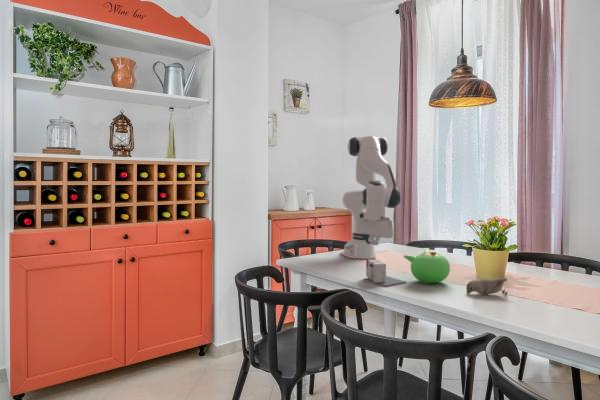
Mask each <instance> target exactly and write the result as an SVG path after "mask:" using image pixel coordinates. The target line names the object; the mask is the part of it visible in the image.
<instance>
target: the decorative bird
mask: <svg viewBox="0 0 600 400" xmlns="http://www.w3.org/2000/svg"><path fill="white" fill-rule="evenodd" d="M507 281H508V277H502V278H501V277H499V278H494V279H493V278H492V279H490V278H489V279H479V280H477V279H474V280H470V281H469V282H468V283H467V284H466V294H467V295H469V294H470V293H474V292H476V293H478V294H479V295H493V294H497V293H499V292H500V291H501V293H502V295H504V296H507V295H508V291H506V292H505V290H506V289H507V288H504V289H502V288H503V285H504V282H507Z"/></svg>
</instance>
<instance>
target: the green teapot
mask: <svg viewBox="0 0 600 400" xmlns="http://www.w3.org/2000/svg"><path fill="white" fill-rule="evenodd" d="M403 258H404V259H406V260H407V261H409V262H410V271H411V274H412V275H413V277H414V278H415V279H416V280H418V281H419V282H421V283H425V284H437V283H440V282H442V281H444V280H446V278H448V276H449V274H450V272H451V265H450V263H449V261H448V259H447V258H446V257H445V255H442V254H441V253H439V252H436V251H430V250H429V248H425V249H424V251H423V253H420V254H418V255H409V254H404V255H403Z"/></svg>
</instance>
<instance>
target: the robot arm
mask: <svg viewBox="0 0 600 400" xmlns="http://www.w3.org/2000/svg"><path fill="white" fill-rule="evenodd" d="M388 149H389V143H388V141H387V138H386V137H382V136H373V135H369V136H368V135H367V136H359V137H351V138H350V139H349V140H348V144H347V150H348V153H349V155H350V156H352V157H356V160H355V161H356V162H355V181H356V182H357V183H358V184H360V185H361V186H363V187H365V188H364V189H363V190H350V191H345V193H344V194H343V196H342V204H343V206H344V208H346V209H347V210H348V211H349V212H350V213H351V215H352V217H353V223H354V232H353V233H351V235H352V238H351V239H349V241H347V242H346V243H345V244H344V249H343V251H340V253H339V254H340V255H342V256H345V257H348V258H350V259H362V260H363V259H364V260H365V259H366V260H367V259H376V255H377V254H376V248H375V246H379V241H380V239H381V238H384V239H390V238H391V239H392V238H393V236H394V227H393V220H392V219H391V218H390V217H386V208H387V209H388V208H389V209H395V208H396V207H398V206H399V205H400V203H401V199H402V198H401V197H402V196H401V192H400V190H399V187H398V186H397V182H396V180H395V177H394V173H393V171H392V167H391V165H390V163H389V162H388V161H386V160H385V159H384V158H383V156H385V155H386V154H387V152H388ZM376 174H377V175H379V176H380V177H382V178H383V179H384V181H385V183H384V181H380V180H376ZM385 186H386V187H385Z"/></svg>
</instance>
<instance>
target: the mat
mask: <svg viewBox="0 0 600 400" xmlns="http://www.w3.org/2000/svg"><path fill="white" fill-rule="evenodd" d="M363 281H365V282H367V283H368V282H369V283H372V284H375V285H377V286H381V287H384V288H388V287H389V288H390V287H393V286H398V285H403V284H407V281H406V280H401V279H399V278H394V277H391V276H387V275H386V282H383V283H376V282H374V281H373V280H371V279H369V278H368V277H366V278H365V277H364V278H363Z"/></svg>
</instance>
